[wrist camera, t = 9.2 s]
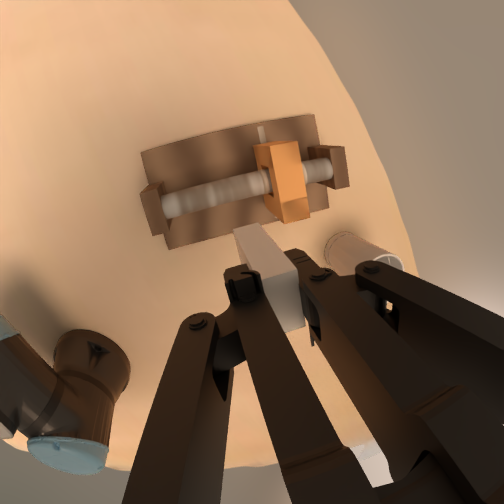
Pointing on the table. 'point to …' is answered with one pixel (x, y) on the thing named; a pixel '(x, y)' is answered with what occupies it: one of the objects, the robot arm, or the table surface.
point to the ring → (284, 180)
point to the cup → (355, 254)
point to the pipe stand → (231, 179)
